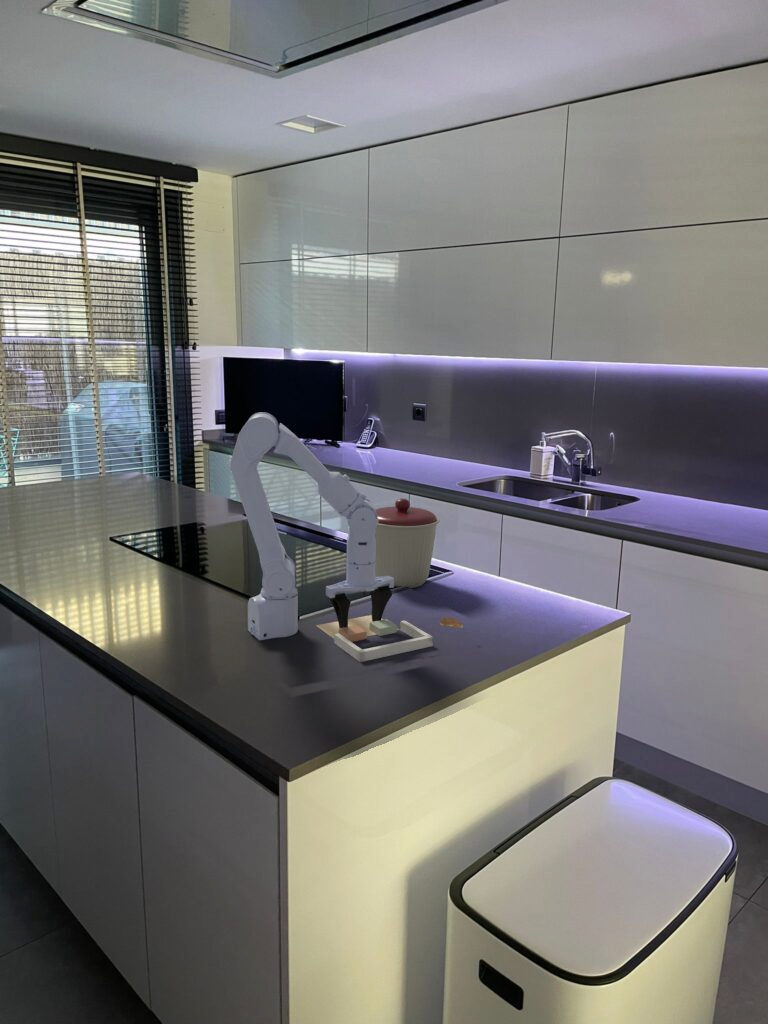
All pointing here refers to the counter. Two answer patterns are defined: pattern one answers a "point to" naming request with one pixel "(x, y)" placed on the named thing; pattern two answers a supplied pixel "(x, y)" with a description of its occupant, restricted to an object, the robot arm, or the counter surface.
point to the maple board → (360, 621)
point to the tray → (361, 655)
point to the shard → (450, 622)
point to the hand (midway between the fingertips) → (359, 625)
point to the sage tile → (383, 627)
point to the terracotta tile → (353, 633)
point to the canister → (404, 543)
